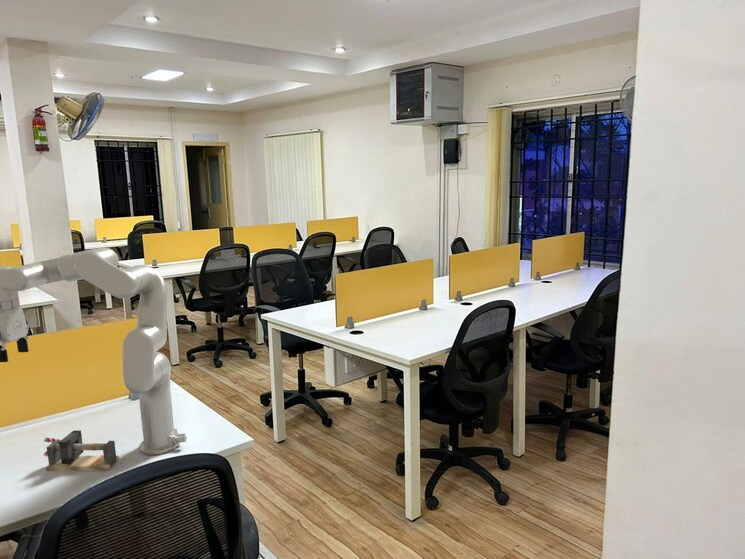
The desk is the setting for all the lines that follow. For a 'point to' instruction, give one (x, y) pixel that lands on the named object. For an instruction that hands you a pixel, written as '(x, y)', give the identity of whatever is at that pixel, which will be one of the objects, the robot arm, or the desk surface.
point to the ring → (65, 447)
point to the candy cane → (50, 441)
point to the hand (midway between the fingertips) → (13, 356)
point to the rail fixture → (83, 457)
